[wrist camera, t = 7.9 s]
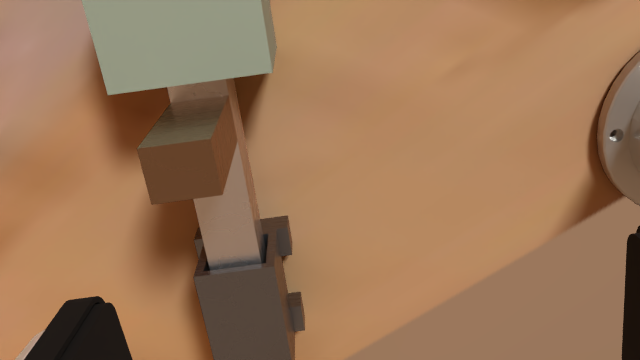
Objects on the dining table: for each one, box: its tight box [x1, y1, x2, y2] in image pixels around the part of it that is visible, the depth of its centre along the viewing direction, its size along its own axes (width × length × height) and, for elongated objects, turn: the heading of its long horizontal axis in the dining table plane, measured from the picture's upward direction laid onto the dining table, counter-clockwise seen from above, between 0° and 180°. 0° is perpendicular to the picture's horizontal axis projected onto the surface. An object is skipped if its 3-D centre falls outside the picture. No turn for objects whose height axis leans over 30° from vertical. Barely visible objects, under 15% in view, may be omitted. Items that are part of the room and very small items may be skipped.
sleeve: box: [194, 216, 305, 360], centre depth 38 cm, size 6×8×6 cm
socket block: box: [82, 0, 277, 95], centre depth 30 cm, size 8×6×7 cm
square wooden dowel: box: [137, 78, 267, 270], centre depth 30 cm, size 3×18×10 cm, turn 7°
